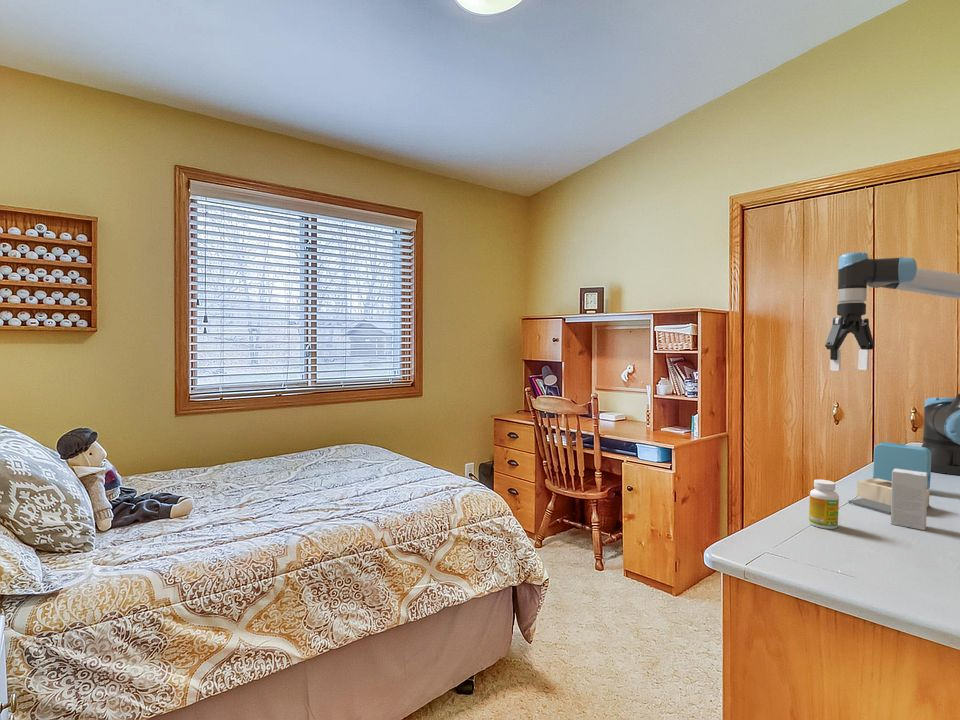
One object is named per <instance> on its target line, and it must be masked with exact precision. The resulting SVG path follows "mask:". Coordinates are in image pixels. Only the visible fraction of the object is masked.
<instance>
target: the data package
mask: <svg viewBox="0 0 960 720" xmlns="http://www.w3.org/2000/svg"><path fill="white" fill-rule="evenodd" d="M931 455H932V454H931V451H930V450H929V449H928V448H925V447H921V446H918V445H917V446H915V445H910V444H909V445H908V444H901V443H893V442H880V443H878V444H876V445H875V446H874V448H873V467H872V468H873V469H872V479H875V478H878V479H883V480H887V481H891V482H892V471H893V470H894V469H903V470H911V471H918V472H926V473H927V474H928V475H927V490H930V488H931V472H932V471H931Z"/></svg>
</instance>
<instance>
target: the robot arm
mask: <svg viewBox="0 0 960 720" xmlns="http://www.w3.org/2000/svg"><path fill="white" fill-rule="evenodd" d="M837 272H838V273H837V302H838V304H837V305H836V306H837V307H836V315H837V316H839V317H833V318H832V325H831V328H830V331H829V334H828V336H827V339H826V342H825V345H824V346H825V347H824V348H826V350H829V351H830V352H829V353H830V355H829V359H830V360H829V361H830V362H829V363H830V365H829V370H830V371H832V372H840V371H841V369H842V368H841V366H842V365H841V364H842V363H841V361H842V349H840V348H841V346H842V344H843V343H844V341H845V339H846V337H847V336H848V335H849V334H850V333H851V334H853V336H854V338H855V340H856V342H857V344H858V346H859V348H860V349H858V357H857V359H858V363H857V370H859V371H869V359H870V350H874V348H875V343H874V338H873V335H872V331H871V328H870V323H869V322H870V321H869V318H863V317H862V316H865V315H866V314H867V303H866V301H868V300H867V296H868V295H867V288H868V287H869V288H874V289H879V288H884V289H889V290H890V289H891V290H899V291H905V292H912V293H917V294H918V293H919V294H924V295H931V296H937V297H945V298H951V299H956V300H960V273H955V272H947V271H939V270H932V269H924V268H918V266H917V260H916V259H915V258H913V257H904V256H903V257H902V256H900V257H889V258H888V257H887V258H870V257H869V254H868V253H867V252H863V251H862V252H859V251H856V252H847V253H843V254H841V255H840V256H839V259H838V268H837ZM922 431H923V433H922V434H923V435H922V443H921V446H920V447H925V448H928V449H929V450H930V451H931V454H932V455H931V472H933V473H938V474H939V473H940V474H945V473H947V474H946V475H953V474H955V476H960V392H958V394H956V396H955V397H927V398H926V399H925V400H924V405H923V430H922Z"/></svg>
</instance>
